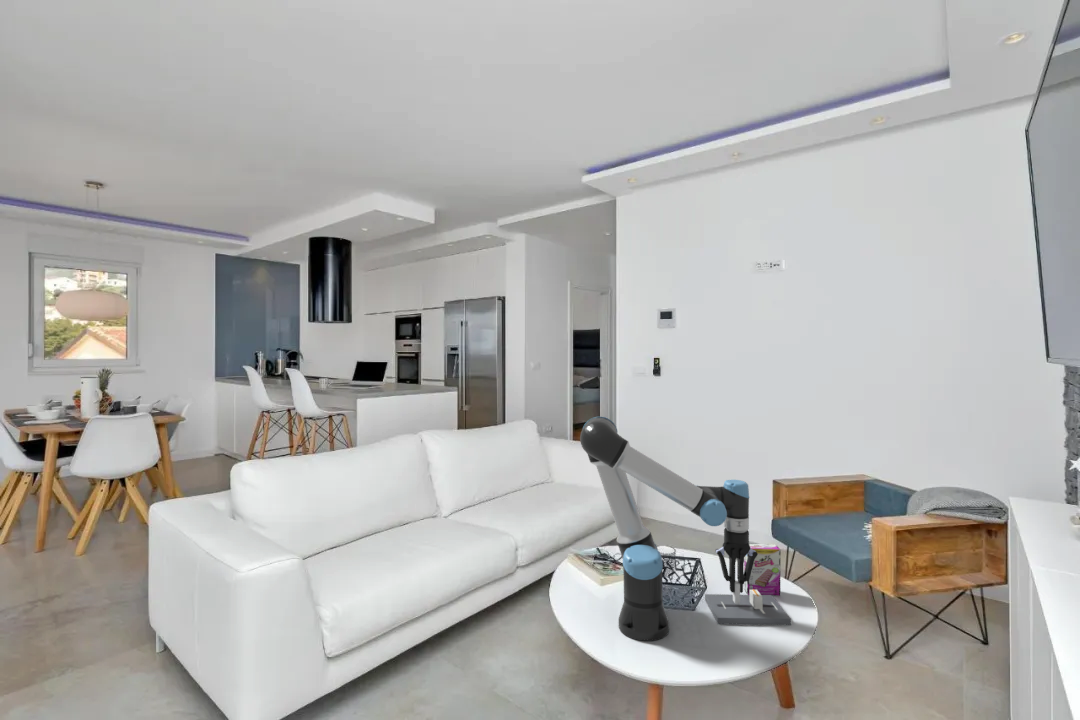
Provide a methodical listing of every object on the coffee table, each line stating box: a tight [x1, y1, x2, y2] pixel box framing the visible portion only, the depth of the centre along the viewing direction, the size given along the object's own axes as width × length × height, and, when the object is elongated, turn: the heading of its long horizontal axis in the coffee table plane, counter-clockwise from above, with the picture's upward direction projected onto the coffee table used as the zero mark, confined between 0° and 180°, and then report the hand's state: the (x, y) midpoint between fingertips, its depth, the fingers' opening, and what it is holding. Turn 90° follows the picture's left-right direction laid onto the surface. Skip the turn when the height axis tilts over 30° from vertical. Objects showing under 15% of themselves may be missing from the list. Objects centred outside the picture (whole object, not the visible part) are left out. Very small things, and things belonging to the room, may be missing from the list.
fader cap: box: [749, 589, 763, 609], centre depth 170 cm, size 2×5×4 cm, turn 176°
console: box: [704, 593, 792, 626], centre depth 171 cm, size 22×16×2 cm
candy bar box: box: [743, 543, 781, 597], centre depth 184 cm, size 11×5×16 cm, turn 84°
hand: (736, 601), depth 171 cm, fingers closed
